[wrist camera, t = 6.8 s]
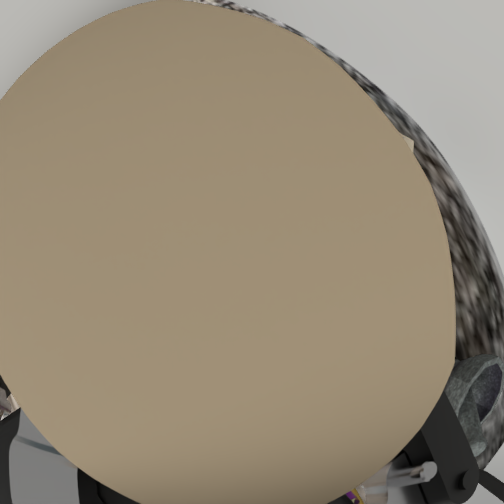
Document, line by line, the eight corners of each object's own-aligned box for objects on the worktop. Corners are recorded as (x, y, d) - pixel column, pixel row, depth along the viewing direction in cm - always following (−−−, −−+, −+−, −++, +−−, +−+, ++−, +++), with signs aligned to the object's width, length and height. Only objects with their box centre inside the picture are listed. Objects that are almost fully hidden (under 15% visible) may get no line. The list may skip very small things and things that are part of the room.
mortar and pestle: (462, 330, 24) (535, 346, 12) (475, 378, 24) (533, 401, 12) (400, 393, 23) (467, 440, 11) (418, 435, 23) (471, 479, 11)
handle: (221, 329, 17) (190, 551, 2) (161, 246, 17) (-55, 171, 2) (283, 283, 17) (498, 343, 2) (223, 201, 17) (200, -29, 2)
